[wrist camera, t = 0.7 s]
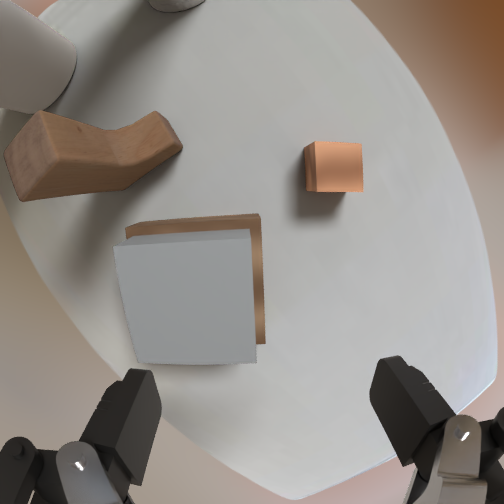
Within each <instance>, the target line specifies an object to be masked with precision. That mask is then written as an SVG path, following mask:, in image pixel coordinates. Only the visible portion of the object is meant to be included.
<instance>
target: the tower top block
mask: <svg viewBox="0 0 504 504" xmlns="http://www.w3.org/2000/svg"><path fill="white" fill-rule="evenodd" d="M113 251H114V258H115V264H116V270H117V276H118V281H119V287H120V292H121V297H122V301H123V306H124V311H125V315H126V319H127V323H128V327H129V331H130V335H131V339H132V343H133V346H134V350H135V354H136V357H137V360H138V363H155V364H186V365H216V364H247V363H257V357H256V336H255V314H254V293H253V271H252V250H251V235H250V229H235V230H217V231H200V232H184V233H169V234H155V235H141V236H132V237H131V238H129V239H127V240H125V241H123V242H121V243H119V244H117V245H115V246H113Z"/></svg>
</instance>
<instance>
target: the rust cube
mask: <svg viewBox="0 0 504 504" xmlns="http://www.w3.org/2000/svg"><path fill="white" fill-rule="evenodd" d="M304 154H305V175H306V191H314V192H363V164H362V145H361V144H358V143H342V142H318V141H315V142H313V143H311V144H309V145H308V146H306V147H304Z"/></svg>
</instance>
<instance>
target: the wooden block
mask: <svg viewBox="0 0 504 504" xmlns="http://www.w3.org/2000/svg"><path fill="white" fill-rule="evenodd" d="M182 148H183V145H182V143H181V142H180V140H179V138H178V137H177V135H176V133H175V132H174V130H173V128H172V127H171V125H170V123H169V122H168V120H167V119H166V118H164V117H163V116H162V115H161V114H160V113H158V112H157V111H154V112H152V113H150V114H148V115H147V116H145V117H143V118H142V119H140V120H138V121H137V122H135V123H134V124H132V125H129V126H126V127H123V128H120V129H118V130H103V129H100V128H97V127H94V126H91V125H88V124H85V123H82V122H79V121H75V120H72V119H69V118H66V117H63V116H59V115H56V114H53V113H49V112H46V111H43V110H39V111H37V112H36V113H35V114H34V115H33V116H32V117H31V118H30V119H29V121H28V122H27V123H26V124H25V125H24V126H23V128H22V129H21V130H20V131H19V132H18V134H17V135H16V136H15V137H14V139H13V140H12V141H11V143H10V144H9V145H8V147H7V148H6V149H5V151H4V158H5V162H6V165H7V168H8V171H9V174H10V177H11V180H12V182H13V185H14V188H15V190H16V193H17V196H18V198H19V200H20V201H22V202H26V201H32V200H39V199H46V198H53V197H61V196H69V195H78V194H87V193H97V192H107V191H119V190H125V189H126V188H128V187H129V186H130V185H132V184H133V183H134V182H136V181H137V180H138V179H140V178H141V177H142V176H144V175H145V174H147V173H148V172H149V171H151V170H152V169H154V168H155V167H157V166H158V165H160V164H161V163H162V162H164V161H165V160H167V159H168V158H170V157H171V156H173V155H174V154H176V153H177V152H179V151H181V150H182Z"/></svg>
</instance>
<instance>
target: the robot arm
mask: <svg viewBox="0 0 504 504" xmlns="http://www.w3.org/2000/svg"><path fill="white" fill-rule="evenodd" d="M148 1H149V3H150V5H151V6H152V7H153V8H154V9H156V10H159V11H163V12H177V11H182V10H186V9H189V8H192V7H194V6H196V5H198V4H200V3H202V2H203V1H205V0H148ZM369 395H370V402H371V405H372V407H373V409H374V411H375V412H376V414H377V416H378V418H379V420H380V422H381V424H382V426H383V428H384V430H385V432H386V434H387V436H388V438H389V440H390V442H391V444H392V446H393V448H394V450H395V452H396V454H397V456H398V458H399V460H400V462H401V464H402V466H403V467H404V466H407V465H409V464H412V463H415V465H416V468H415V470H414V472H413V475H412V478H411V481H410V484H409V487H408V490H407V493H406V496H405V498H404V501H403V504H504V469H503V468H502V466H501V464H500V463H499V461H498V459H500V457H501V456H502V455H503V454H504V407H503V408H502V409H501V410H500V411H499V412H498V414H497V416H496V417H495V418H494V419H492V420H487V421H482V422H477V421H476V419H474V418H473V417H471V416H468V415H456V414H455V413H454V411H453V410H452V409H451V407H450V406H449V405H448V404H447V402H446V401H445V400H444V399H443V397H442V396H441V395H440V394H439V392H438V391H437V390H435V387H434V386H433V385H432V384H431V383H429V380H428V379H427V377H426V376H425V375H424V374H423V373H422V372H421V371H419V370H418V369H416V368H415V367H413V366H408V365H407V363H406V362H405V361H404V360H403V358H402V357H401V356H393V357H388V358H383V359H380V360H379V361H378V363H377V367H376V370H375V374H374V377H373V381H372V384H371V388H370V394H369ZM161 410H162V407H161V400H160V397H159V393H158V390H157V387H156V383H155V380H154V376H153V373H152V372H151V371H150V370H142V369H132V368H131V369H129V370H128V372H127V373H126V375H125V377H124V379H123V381H116V382H114V383H113V384H112V385H111V386H110V387H108V388H107V389H106V391H105V393H104V395H103V396H102V398H101V401H100V402H99V404H98V405H97V409H95V411H94V413H93V415H92V417H91V418H90V421H89V422H88V424H87V426H86V428H85V430H84V432H83V434H82V436H81V438H80V439H79V441H74V442H69V443H67V444H65V445H63V446H62V447H61V448H60V449H59V451H53V450H41V449H36V448H35V446H34V445H33V444H32V442H30V441H29V440H28V439H27V438H24V437H14V438H12V439H10V440H8V441H7V442H6V443H5V445H4V446H3V448H2V450H1V452H0V504H28V501H29V499H30V496H31V493H32V491H33V490H34V491H35V492H34V495H33V498H32V500H31V503H30V504H135V503H134V502H133V500H132V498H131V496H130V495H129V493H128V489H129V486H130V484H134V485H139V486H141V485H142V481H143V477H144V473H145V470H146V466H147V462H148V459H149V455H150V452H151V448H152V444H153V441H154V437H155V434H156V430H157V427H158V424H159V420H160V417H161Z"/></svg>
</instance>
